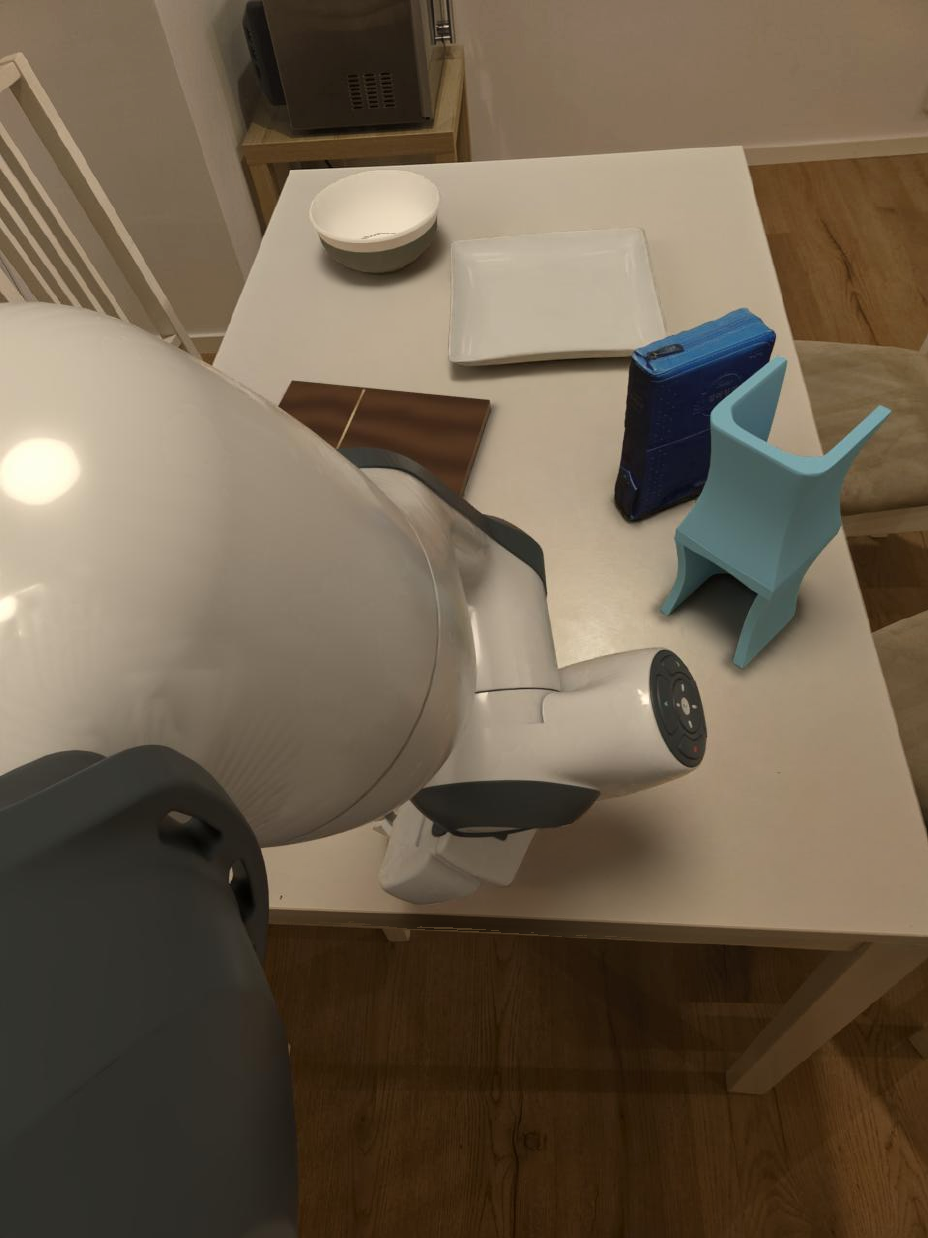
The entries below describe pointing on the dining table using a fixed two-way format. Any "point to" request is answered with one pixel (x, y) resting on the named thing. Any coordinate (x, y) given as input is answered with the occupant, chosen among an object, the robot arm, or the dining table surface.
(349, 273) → the dining table surface
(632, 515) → the book
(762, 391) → the light blue toy chair
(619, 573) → the dining table surface
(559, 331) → the square plate
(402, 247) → the bowl
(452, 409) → the board
